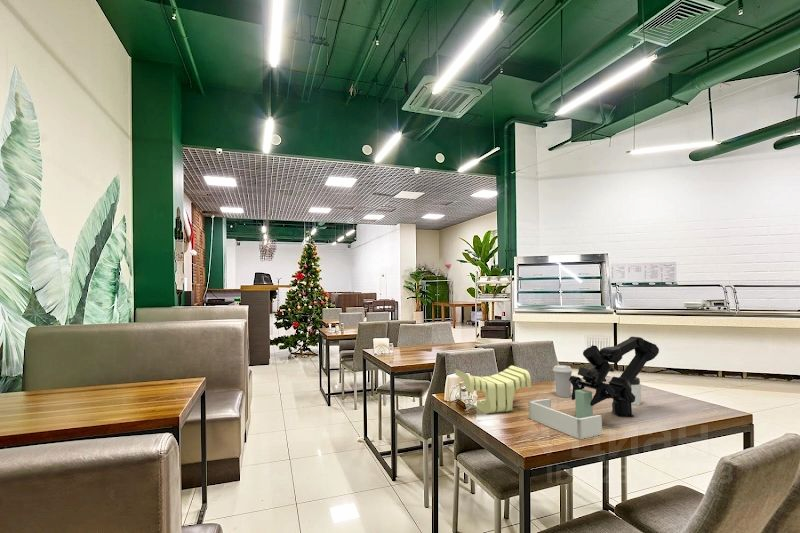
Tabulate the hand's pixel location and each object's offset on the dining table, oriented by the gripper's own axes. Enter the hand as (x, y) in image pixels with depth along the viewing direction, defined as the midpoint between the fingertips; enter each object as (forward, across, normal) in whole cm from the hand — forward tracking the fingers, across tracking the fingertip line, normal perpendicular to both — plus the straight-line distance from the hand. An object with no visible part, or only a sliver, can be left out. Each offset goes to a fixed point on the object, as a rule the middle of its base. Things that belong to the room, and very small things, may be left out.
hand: (581, 402), depth 157 cm
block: (+5, 0, +7) cm, 8 cm away
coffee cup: (-12, -34, +24) cm, 43 cm away
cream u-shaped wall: (+12, 0, -1) cm, 13 cm away
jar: (-26, -11, +38) cm, 47 cm away
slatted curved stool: (+21, -30, -10) cm, 38 cm away
